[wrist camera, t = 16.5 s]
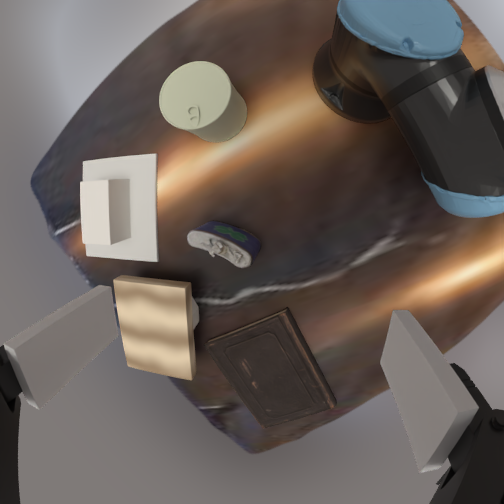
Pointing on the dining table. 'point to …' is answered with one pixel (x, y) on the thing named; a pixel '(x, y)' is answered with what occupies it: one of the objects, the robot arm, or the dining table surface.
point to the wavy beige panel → (157, 325)
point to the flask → (226, 242)
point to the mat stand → (120, 207)
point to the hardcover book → (272, 370)
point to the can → (203, 102)
